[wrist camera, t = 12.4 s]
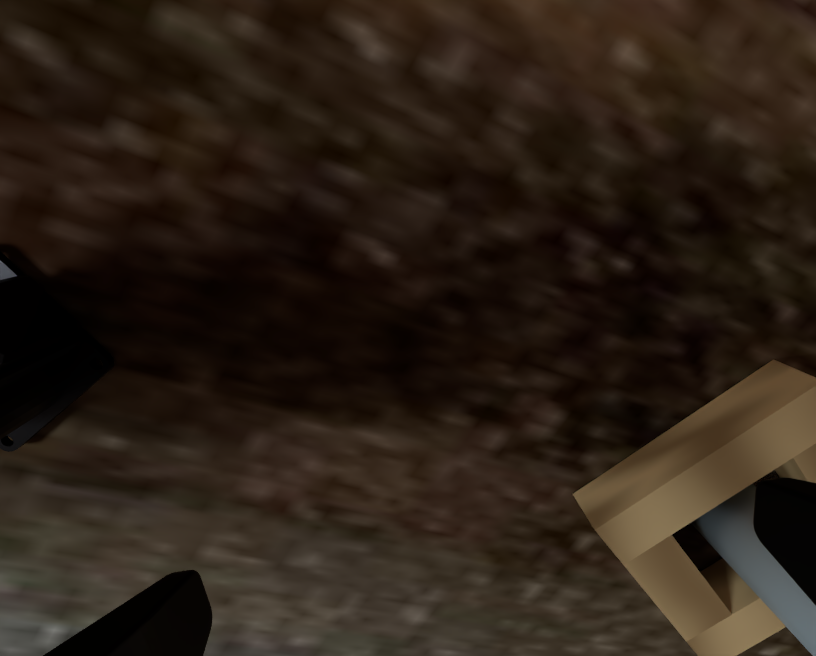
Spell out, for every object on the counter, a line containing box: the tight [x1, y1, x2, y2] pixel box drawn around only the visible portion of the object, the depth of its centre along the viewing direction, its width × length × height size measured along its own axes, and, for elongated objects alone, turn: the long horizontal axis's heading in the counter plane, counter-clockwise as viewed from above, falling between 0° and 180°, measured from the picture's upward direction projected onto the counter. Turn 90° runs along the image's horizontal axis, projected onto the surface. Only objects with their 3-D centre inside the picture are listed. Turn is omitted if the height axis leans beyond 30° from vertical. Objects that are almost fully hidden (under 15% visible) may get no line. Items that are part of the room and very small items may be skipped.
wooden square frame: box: [573, 359, 816, 656], centre depth 22 cm, size 11×11×2 cm
